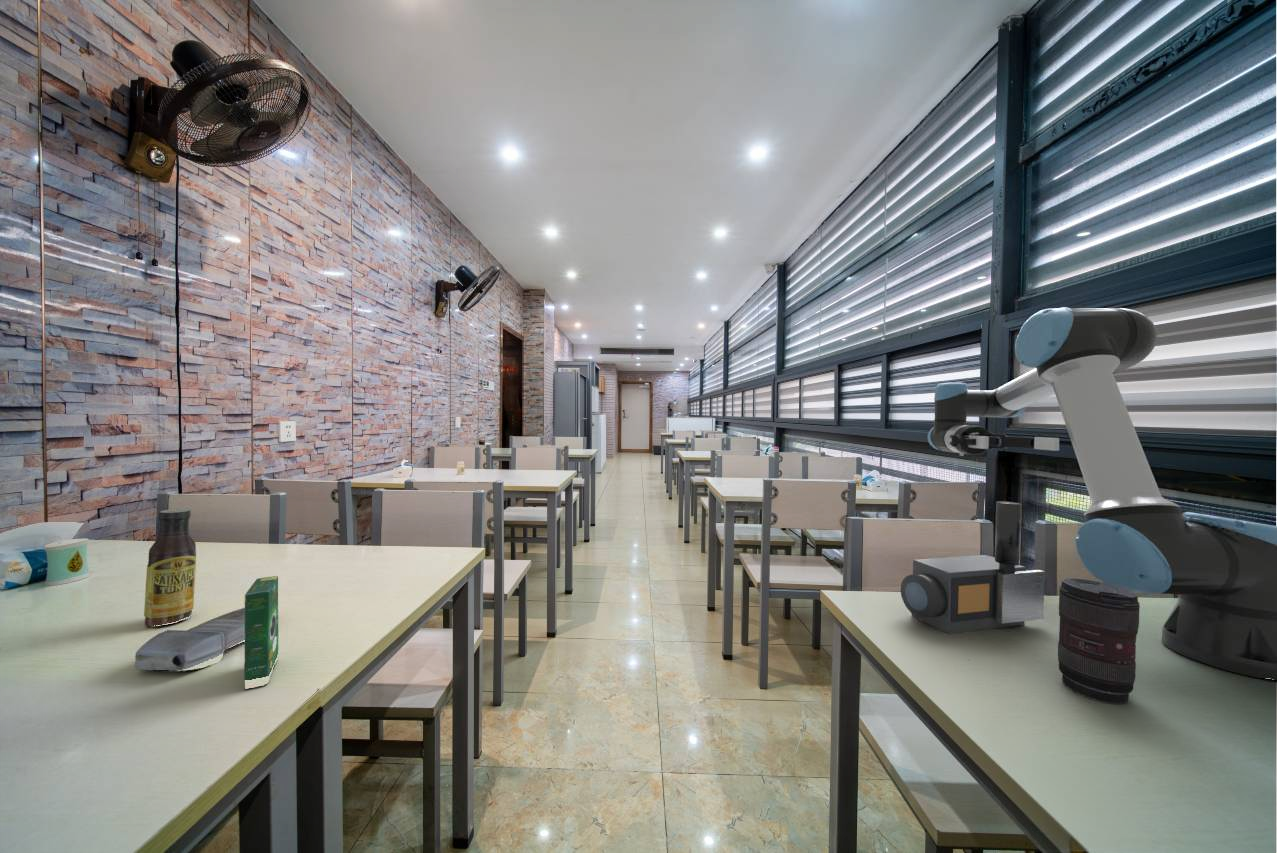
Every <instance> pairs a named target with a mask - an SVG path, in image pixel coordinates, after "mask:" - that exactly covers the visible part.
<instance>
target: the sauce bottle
mask: <svg viewBox="0 0 1277 853" xmlns="http://www.w3.org/2000/svg"><path fill="white" fill-rule="evenodd" d="M190 518H191V509H189V508H172V509H164V510H160V511H159V512H158V521H159V531H158V537H157V538H156V540H155V542H154V543H153V544H152V546H151V547H150V548H149V550H148V561H147V566H146V578H145V590H144V594H145V595H144V610H143V611H144V612H143V616H144V625H145V626H146V625H147V626H146V627H148V626H154V625H155V626H156V625H162V624H167V623H172V622H176V621H179V620H181V619H184V618H186V617H189V616H190V615H191V614H193V610H194V607H195V606H194V605H195V604H194V602H195V589H196V588H195V587H196V572H197V571H196V567H197V549H196V548H197V546H196V541H195V540H194V539H193V538H192V537H191V535H190V528H189V524H190ZM191 616H192V615H191ZM191 616H190V617H191Z"/></svg>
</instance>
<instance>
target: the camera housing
mask: <svg viewBox="0 0 1277 853" xmlns="http://www.w3.org/2000/svg"><path fill="white" fill-rule="evenodd" d="M1015 571H1027V566H1023V565H1021V564H1020V565H1017V566H1015ZM998 573H999V563H998V562H996V561H995V556H990V555H986V554H977V555H975V554H974V555H964V556H947V557H932V558H921V559H920V558H918V559H913V560H912V574H910V575H907V576H905V577H904V578H903V579H902V581H901V583H900V595H901V599H902V602H903V603H904V606H905V608H906V609H907V610H908V611H909V612H910V613H911V616H913V617H914V618H917V619H919V620H920V621H923V622H925V623H926V624H929V625H931V626H933V627H934V628H937V629H938V630H940V629H941V630H940V631H942V630H943V632H944V631H945V632H944V633H946V632H947V634H954V633H965V632H970V631H979V630H980V631H981V630H991V629H997V628H998V629H999V628H1006V627H1017V626H1024V625H1025V622H1026V621H1021V622H1012V623H1003V624H1002V623H999V622H997V621H996V618H997V582H998Z"/></svg>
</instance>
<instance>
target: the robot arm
mask: <svg viewBox="0 0 1277 853" xmlns="http://www.w3.org/2000/svg"><path fill="white" fill-rule="evenodd" d="M1157 342H1158V332H1157V327H1156V326H1155V324H1154V322H1153V321H1152V320H1151V319H1150V318H1149V317H1148V316H1146V315H1145V314H1143V313H1141V312H1140V311H1137V310H1135V309H1129V308H1123V307H1118V308H1117V307H1113V308H1109V307H1108V308H1106V307H1105V308H1070V307H1067V306H1061V307H1059V308H1055V307H1054V308H1046V309H1042V310H1039V311H1037V312H1035V313H1034V314H1033V315H1031V316H1030V317H1028V319H1027V320H1026V321H1025V322H1024V323H1023V325H1022V326H1021V328H1020V330H1019V333H1018V335H1017V337H1016V340H1015V344H1014V352H1015V353H1014V354H1015V356H1016V357H1015V358H1016V360H1017V361H1018V362H1019V364H1020V365H1023V366H1024V367H1026V368H1030V369H1031V368H1033V369H1031V370H1030V371H1028V372H1025V373H1024V374H1023V375H1022V374H1021V375H1020V376H1018V377H1016V378H1015V379H1012V380H1011V381H1009V382H1007V383H1005V384H1003V385H1002V386H999V387H996V388H995V389H993V390H987V389H986V390H982V389H981V390H979V389H978V390H977V389H968V384H967V383H965V382H941V383H938V384H937V385H936V386H935V391H934V399H933V400H934V422H933V427H931V429H930V430H929V431H928V433H927V442H928V443H929V445H930V446H931V447H932V448H933V449H935V450H938V451H941V452H946V453H955V454H959V456H961V457H962V456H963V457H964V455H972V456H978V455H982V454H984V453H986V452H987V451H988V450H993V449H1001V450H1002V449H1003V450H1004V449H1005V450H1006V449H1007V448H1023V449H1024V448H1025V449H1027V448H1028V449H1035V450H1041V451H1042V450H1043V451H1053V452H1054V451H1055V452H1056V451H1057V452H1059V451H1060V438H1059V437H1048V436H1045V437H1043V434H1037V436H1034V437H1031V436H1009V435H1007V434H1002V433H1001V434H996V433H993V432H990V431H989V430H988V429H986V428H985V427H983V426H981V425H969V424H968V425H967V418H998V419H999V418H1001V419H1008V418H1017V417H1019V416H1021V415H1023V412H1024V411H1026V410H1027V409H1026V408H1027V406H1030V405H1032V404H1035V403H1037V402H1039V401H1042V400H1044V399H1047V398H1048V397H1051V396H1053V395H1055V397H1056V401H1057V403H1058V405H1059V409H1060V412H1061V415H1062V418H1063V421H1064V423H1065V426H1066V429H1067V433H1068V436H1069V438H1070V442H1071V445H1072V448H1073V451H1074V453H1075V457H1076V459H1077V462H1078V465H1079V468H1080V472H1081V474H1082V477H1083V481H1084V483H1085V486H1086V490H1087V491H1088V492H1087V493H1088V496H1089V499H1090V502H1091V505H1090V507H1088V509H1087V510H1086V511H1085V512H1083V513H1084V514H1083V515H1084V519H1085V522H1084V523H1082V525H1081V526H1079V527H1078V530H1077V532H1076V533H1077V535H1078V536H1076V537H1075V541H1074V542H1075V543H1074V544H1075V548H1076V552H1077V556H1078V558H1079V559H1080V561H1081V563H1082V565H1083V566H1084V567H1085V569H1086V570H1087V571H1088V573H1089V574H1091V575H1092V576H1093V577H1094V578H1096V580H1099V581H1100V582H1102V583H1107V584H1111V585H1115V586H1118V587H1122V588H1125V589H1128V590H1130V591H1132V592H1134V593H1136V594H1137V593H1138V594H1142V595H1160V594H1161V595H1162V594H1163V595H1166V594H1167V595H1178V596H1177V598H1178V599H1177V602H1176V603H1175V605H1174V607H1173V608H1172V610H1171V611H1170V614H1169V615H1168V617H1167V619H1166V620H1165V622H1164V624H1163V626H1162V628H1161V642H1162V644H1164V645H1165V646H1166V647H1167V648H1168V649H1171V651H1173V652H1176V653H1178V654H1180V655H1182V656H1184V657H1187V658H1189V659H1191V660H1194V661H1197V662H1199V663H1202V664H1206V665H1208V666H1212V667H1214V668H1218V669H1221V670H1224V671H1227V672H1233V673H1236V674H1239V675H1244V676H1247V677H1248V676H1249V677H1252V678H1257V679H1261V678H1271V679H1274V680H1277V526H1276V525H1272V524H1271V525H1270V524H1265V523H1260V522H1254V521H1247V520H1242V519H1235V518H1229V517H1225V516H1224V517H1223V516H1217V515H1213V514H1212V515H1211V514H1205V513H1204V514H1203V513H1196V512H1193V511H1192V512H1191V511H1186V512H1182V509H1181V507H1180V505H1179V504H1177V503H1175V502H1173V501H1171V500H1168V499H1166V498H1165V497H1163V496H1162V494H1161V492H1160V489H1159V486H1158V484H1157V482H1156V479H1155V477H1154V474H1153V472H1152V469H1151V466H1150V464H1149V461H1148V459H1147V456H1146V454H1145V452H1144V449H1143V446H1142V444H1141V442H1140V439H1139V436H1138V433H1137V432H1136V431H1137V430H1136V428H1135V426H1134V424H1133V420H1132V419H1131V416H1130V414H1129V411H1128V409H1127V406H1126V403H1125V401H1124V398H1123V396H1122V394H1121V393H1122V392H1121V390H1120V388H1119V386H1118V383H1117V381H1116V378H1115V374H1118V373H1120V372H1123V371H1125V370H1128V369H1129V368H1131V367H1133V366H1136V365H1137V364H1139V363H1141V362H1143V361H1144V360H1145V359H1146V358H1147V357H1148V356H1149V355H1150V354H1151V353H1152V352H1153V350H1154V349H1155V346H1156V344H1157Z"/></svg>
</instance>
